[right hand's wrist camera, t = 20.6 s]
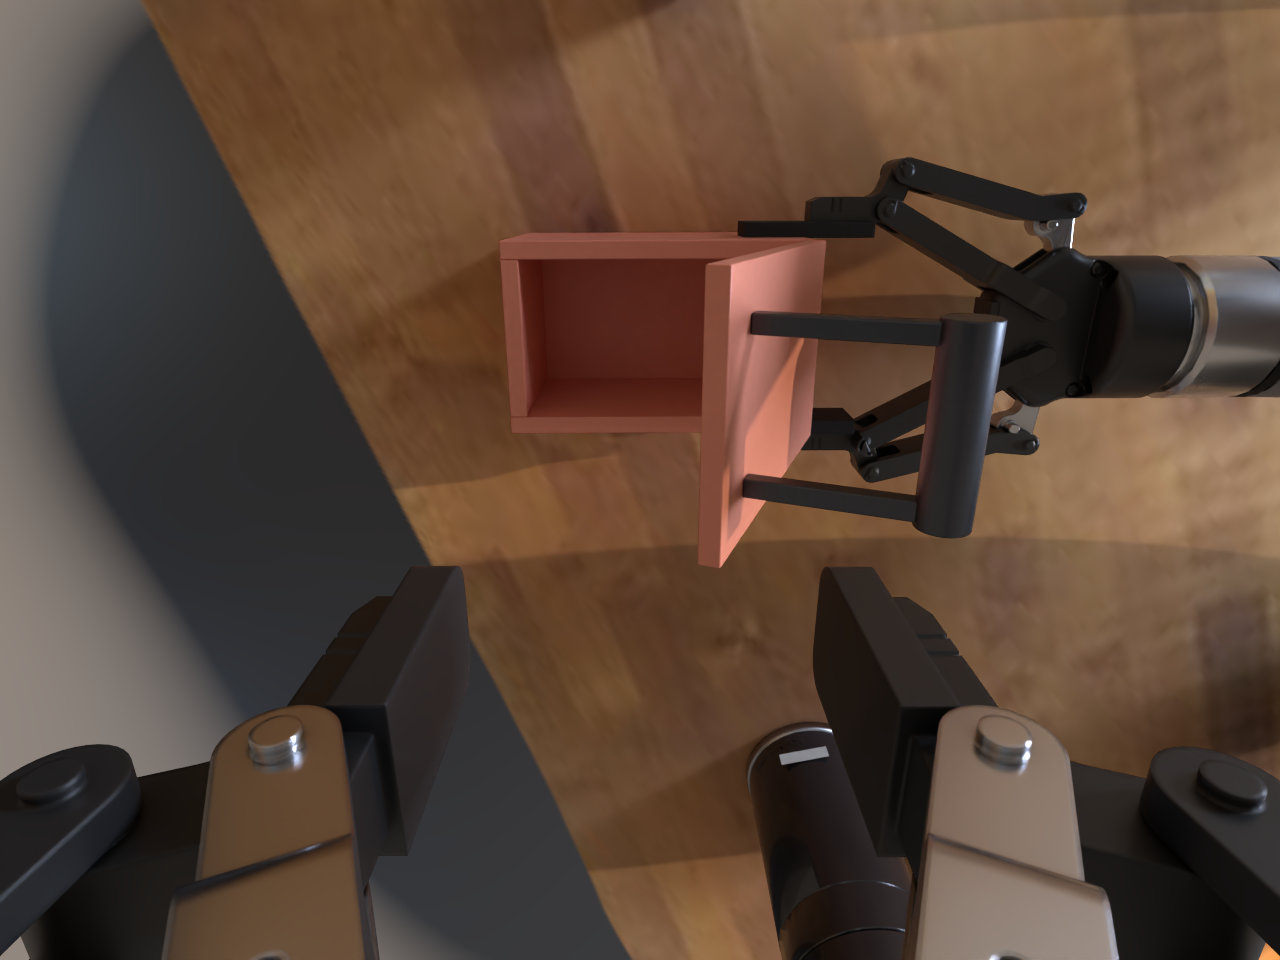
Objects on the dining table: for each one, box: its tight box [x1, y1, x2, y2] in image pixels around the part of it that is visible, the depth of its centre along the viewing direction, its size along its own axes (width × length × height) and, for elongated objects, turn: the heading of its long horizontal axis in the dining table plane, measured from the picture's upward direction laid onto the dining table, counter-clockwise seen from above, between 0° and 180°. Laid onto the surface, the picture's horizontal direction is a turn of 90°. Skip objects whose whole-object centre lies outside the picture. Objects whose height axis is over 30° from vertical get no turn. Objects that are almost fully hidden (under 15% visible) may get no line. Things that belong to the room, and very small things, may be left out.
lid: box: [698, 240, 1007, 568], centre depth 28 cm, size 16×10×8 cm
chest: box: [499, 232, 815, 433], centre depth 41 cm, size 15×10×10 cm, turn 90°
